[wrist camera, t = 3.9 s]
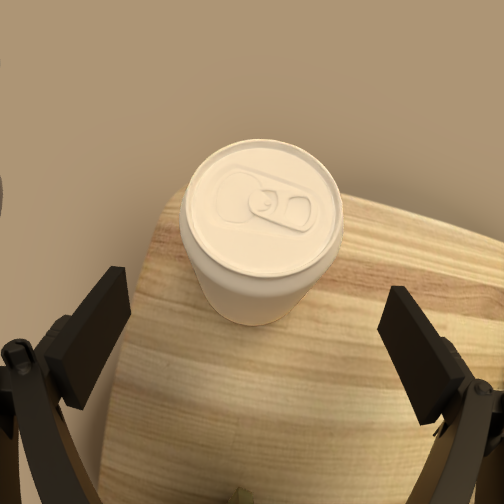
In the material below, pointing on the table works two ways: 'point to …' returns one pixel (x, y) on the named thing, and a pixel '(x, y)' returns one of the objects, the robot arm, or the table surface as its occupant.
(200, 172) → the beverage can
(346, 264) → the table surface
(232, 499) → the drawer
